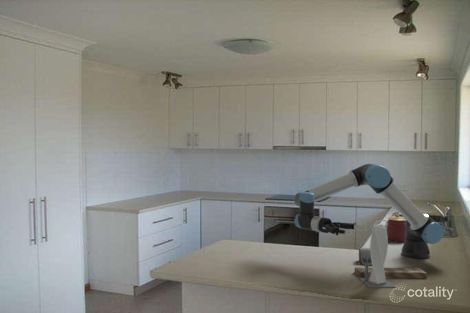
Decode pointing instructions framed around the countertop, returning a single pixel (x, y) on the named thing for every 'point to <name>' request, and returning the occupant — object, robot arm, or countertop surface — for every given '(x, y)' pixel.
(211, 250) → the countertop surface
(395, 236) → the canister
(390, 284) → the end pad
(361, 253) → the ceramic mug
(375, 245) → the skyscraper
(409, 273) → the walnut board
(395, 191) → the robot arm
